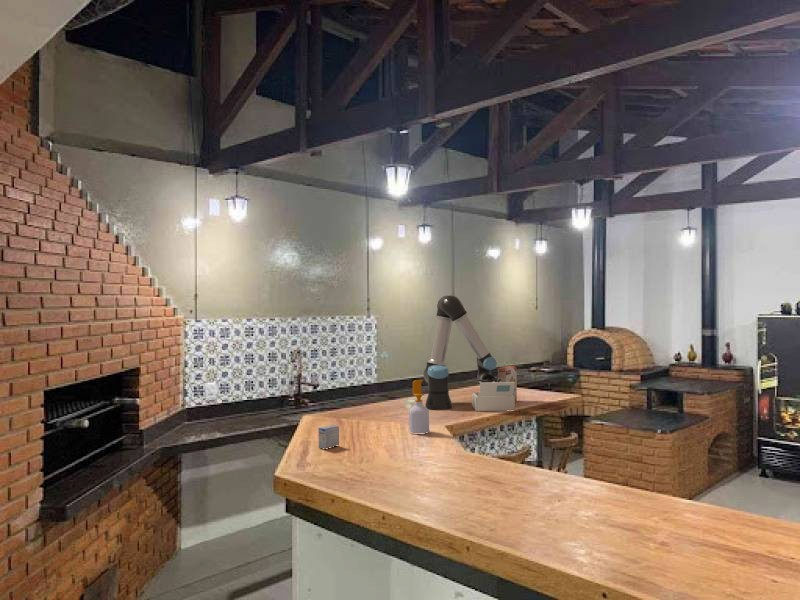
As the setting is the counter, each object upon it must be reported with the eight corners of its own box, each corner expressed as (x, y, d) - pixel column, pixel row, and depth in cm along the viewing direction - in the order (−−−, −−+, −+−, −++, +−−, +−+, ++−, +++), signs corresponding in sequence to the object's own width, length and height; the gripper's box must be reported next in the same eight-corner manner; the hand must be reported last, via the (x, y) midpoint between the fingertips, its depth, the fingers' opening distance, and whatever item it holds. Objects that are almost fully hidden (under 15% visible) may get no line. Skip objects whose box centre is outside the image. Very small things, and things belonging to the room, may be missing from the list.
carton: (476, 411, 315) (476, 396, 315) (472, 406, 331) (471, 392, 332) (515, 410, 315) (515, 396, 315) (509, 405, 332) (508, 391, 332)
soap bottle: (412, 435, 261) (412, 381, 261) (407, 431, 270) (406, 378, 270) (431, 434, 263) (430, 380, 263) (425, 429, 272) (424, 377, 272)
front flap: (478, 395, 314) (478, 396, 314) (480, 382, 308) (480, 383, 308) (512, 395, 315) (512, 395, 314) (514, 381, 309) (514, 382, 308)
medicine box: (332, 444, 246) (331, 424, 246) (339, 446, 243) (339, 425, 243) (318, 448, 240) (318, 427, 240) (325, 450, 237) (325, 429, 237)
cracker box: (506, 404, 335) (506, 368, 335) (497, 403, 338) (496, 368, 339) (517, 401, 346) (517, 366, 346) (508, 400, 350) (507, 365, 350)
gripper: (499, 386, 335) (508, 392, 312) (476, 386, 335) (484, 393, 311) (498, 373, 335) (507, 378, 312) (476, 373, 335) (483, 379, 311)
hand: (495, 385), depth 312 cm, fingers closed
